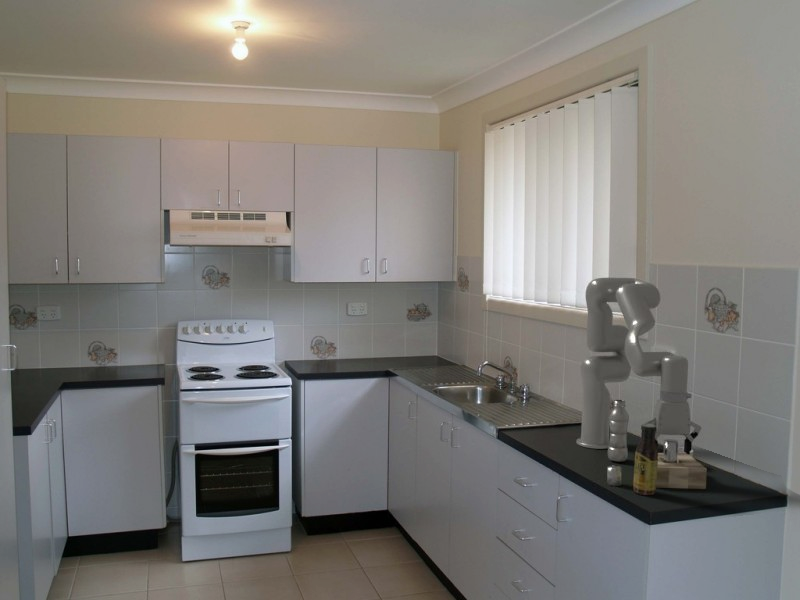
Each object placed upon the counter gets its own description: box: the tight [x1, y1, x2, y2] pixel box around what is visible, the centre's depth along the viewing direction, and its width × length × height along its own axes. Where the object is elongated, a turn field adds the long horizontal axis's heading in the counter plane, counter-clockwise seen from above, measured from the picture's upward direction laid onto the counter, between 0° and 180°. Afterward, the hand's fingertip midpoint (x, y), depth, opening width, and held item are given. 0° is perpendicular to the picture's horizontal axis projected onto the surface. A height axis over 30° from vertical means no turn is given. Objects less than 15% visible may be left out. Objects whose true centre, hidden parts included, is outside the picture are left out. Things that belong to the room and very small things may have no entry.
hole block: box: [656, 452, 708, 490], centre depth 232 cm, size 16×16×6 cm
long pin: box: [662, 438, 679, 463], centre depth 232 cm, size 4×4×12 cm
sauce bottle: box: [632, 423, 659, 496], centre depth 219 cm, size 7×6×20 cm
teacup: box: [678, 446, 694, 458], centre depth 247 cm, size 10×8×5 cm
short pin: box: [606, 465, 622, 487], centre depth 227 cm, size 4×4×5 cm
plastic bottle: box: [607, 399, 630, 463], centre depth 251 cm, size 6×7×20 cm
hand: (670, 452), depth 232 cm, fingers open, 9 cm apart
